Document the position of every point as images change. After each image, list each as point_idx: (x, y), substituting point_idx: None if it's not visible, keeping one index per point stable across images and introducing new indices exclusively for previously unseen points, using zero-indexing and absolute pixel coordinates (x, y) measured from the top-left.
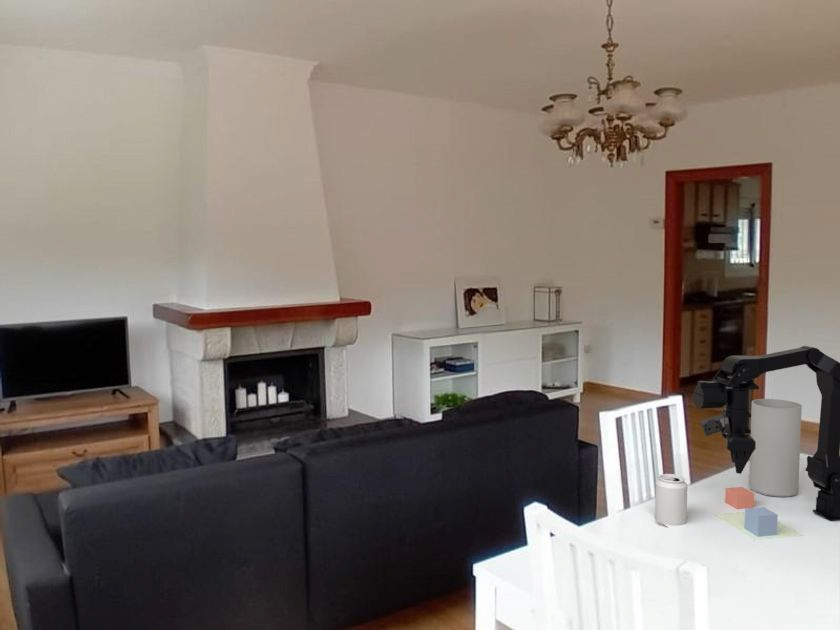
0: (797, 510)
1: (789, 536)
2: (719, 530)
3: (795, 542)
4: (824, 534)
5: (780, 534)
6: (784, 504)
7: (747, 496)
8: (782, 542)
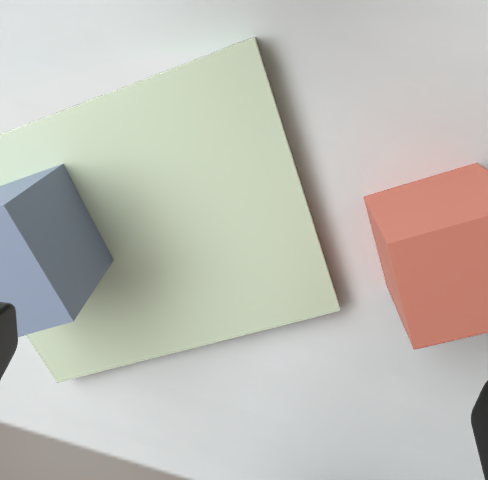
0: (402, 450)
1: None
2: (64, 23)
3: None
4: (147, 447)
5: None
6: None
7: (398, 299)
8: None
